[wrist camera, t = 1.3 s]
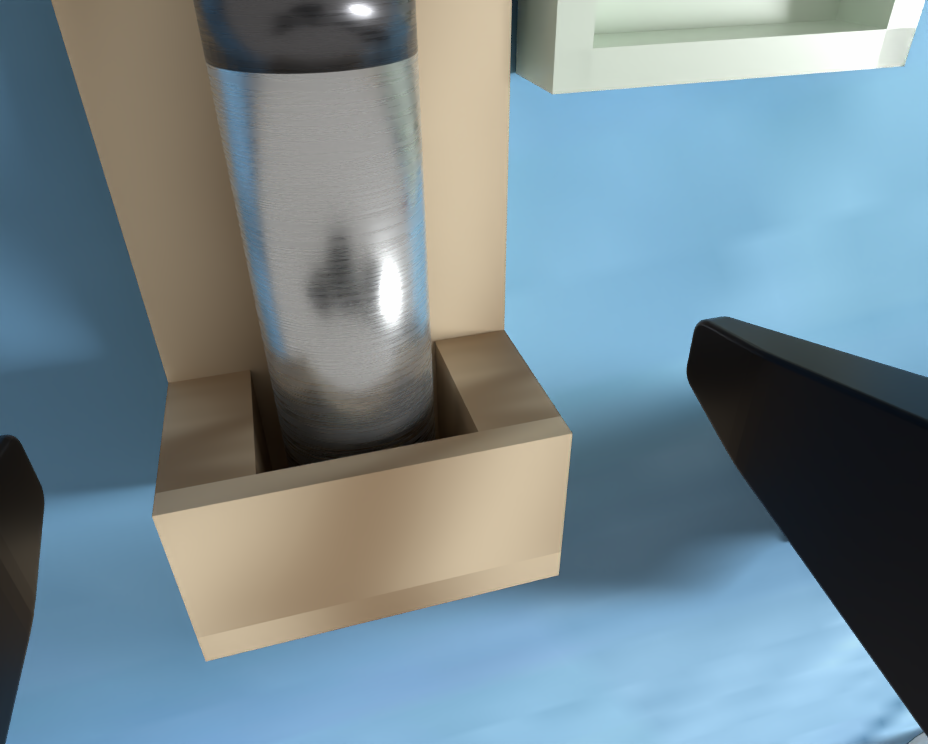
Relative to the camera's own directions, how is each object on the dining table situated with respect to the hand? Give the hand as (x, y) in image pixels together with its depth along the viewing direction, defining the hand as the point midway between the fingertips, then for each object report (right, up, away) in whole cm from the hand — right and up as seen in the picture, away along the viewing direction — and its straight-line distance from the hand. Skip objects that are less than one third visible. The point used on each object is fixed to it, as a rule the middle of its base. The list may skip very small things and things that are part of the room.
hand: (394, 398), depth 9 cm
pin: (-1, +2, +4) cm, 5 cm away
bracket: (-2, +4, +7) cm, 8 cm away
